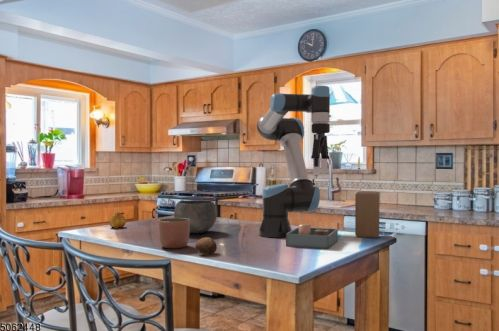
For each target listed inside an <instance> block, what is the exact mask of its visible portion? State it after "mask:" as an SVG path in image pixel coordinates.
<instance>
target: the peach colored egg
mask: <svg viewBox="0 0 499 331" xmlns="http://www.w3.org/2000/svg"><path fill="white" fill-rule="evenodd" d="M298 227H299V234H303V235H311V228H312V226H311V224H309V223H299V224H298Z"/></svg>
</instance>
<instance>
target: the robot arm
mask: <svg viewBox="0 0 499 331" xmlns="http://www.w3.org/2000/svg"><path fill="white" fill-rule="evenodd" d="M330 92H331V91H330V87H329V86H327V85H314V86H312V87H311V92H310V94H307V93H306V94H305V93H304V94H303V93H301V94H300V93H296V94H295V93H281V92H280V93H273V94H272V95H271V97H270V99H269V100H270V101H269V104H270V105H269V106H270V108H269V109H268V110H267V112H266V113H265V114H264V115H262V116H261V117H260V118H259V119H258V121H257V123H256V130H257V132H258V134H259V135H260V136H261V137H262V138H263V139H266V140H268V141H278V142H279V144H280V146H281V147H283V151H284V156H285V159H286V165H287V166H286V167H287V170H288V174H289V180H290V184H289V185H288V183H279V184H272V185H266V186H264V188H263V190H262V197H261V198H262V220H261V223H260V226H259V229H258V235H259V236H260V237H265V238H286V233H288V232H290V231H292V230H293V229H292V226H291V224H290V221H289V213H295V212H296V213H298V212H299V213H300V212H301V213H302V212H303V213H304V212H306V213H308V212H314V211H316V210H317V209H318V208H319V204H320V199H321V192H320V188H319V186H316V185H314V183H313V181H312V179H309V175H308V172H307V166H306V163H305V159H304V154H303V150H302V146H301V142H302V140H303V139H304V136H305V127H304V124H303V122H302V120H301V119H299V118H294V117H290V118H289V117H288V118H286V117H285V116H287V113H288V112H296V113H297V112H300V113H301V112H304V113H307V114H308V113H311V114H310V115H311V118H310V119H311V123H312V124H311V133H312V134H313V143H312V151H311V155H310V156H311V157H310V158H311V159H312V160H313V161H312V163H313V164H312V165H313V166H312V167H313V170H312V171H313V174H312V175H313V176H321V175H329V174H328V171H329V170H328V164H329V163H328V159H329V160H330V155H329V146H328V136H327V135H326V134H329V133H330V132H331V131H330V130H331V129H330V128H331V125H330V118H332V115H331V112H330V111H331V110H330V108H331V107H330V106H331V104H330V103H331V102H330V99H331V93H330ZM320 157H321V158H320Z"/></svg>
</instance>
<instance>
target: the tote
mask: <svg viewBox="0 0 499 331" xmlns="http://www.w3.org/2000/svg"><path fill="white" fill-rule="evenodd" d="M317 229H322V230H329V235H328V236H320V235H314V231H315V230H317ZM338 231H339V229H338V228H326V227H322V228H321V227H311V235H303V234H299V226H298V227H296V228H294V229H292V231H290V232H288V233H286V237H285V246H286V247H291V248H292V247H296V248H309V249H322V250H323V249H324V250H330V248H331V247H333V246H334V245H335V244H336V243H337V242H338V240H339V233H338Z"/></svg>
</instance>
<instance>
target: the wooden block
mask: <svg viewBox="0 0 499 331" xmlns="http://www.w3.org/2000/svg"><path fill="white" fill-rule="evenodd" d="M354 196H355V199H354V200H355V201H354V202H355V203H354V204H355V205H354V207H355V209H354V210H355V211H354V213H355V214H354V216H355V217H354V218H355V221H354V223H355V225H354V226H355V228H354V230H355V231H354V232H355V237H356V238H365V239H367V238H369V239H370V238H371V239H378V238H379V235H380V192H378V191H359V190H358V191H357V192H356V193H355V194H354Z"/></svg>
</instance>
